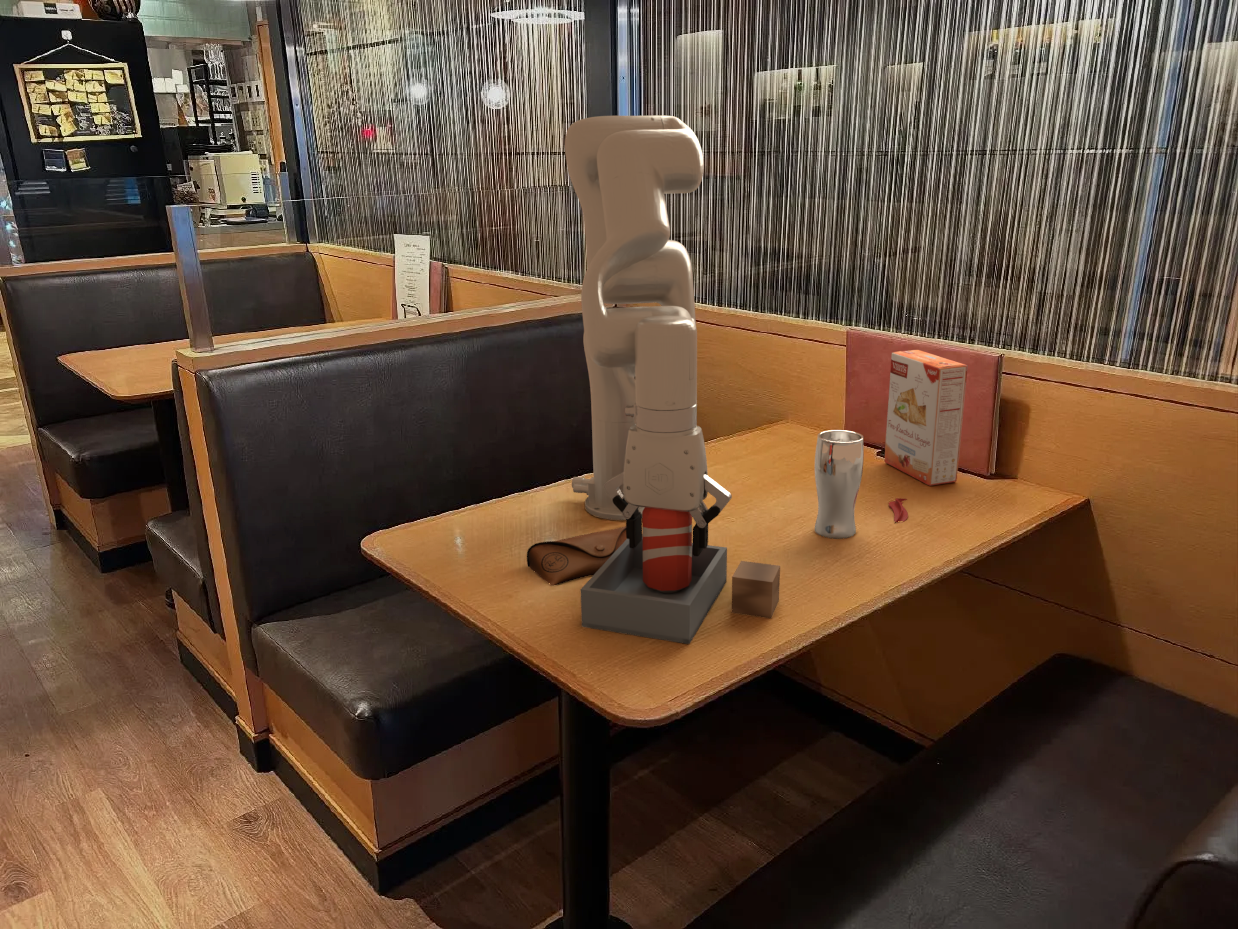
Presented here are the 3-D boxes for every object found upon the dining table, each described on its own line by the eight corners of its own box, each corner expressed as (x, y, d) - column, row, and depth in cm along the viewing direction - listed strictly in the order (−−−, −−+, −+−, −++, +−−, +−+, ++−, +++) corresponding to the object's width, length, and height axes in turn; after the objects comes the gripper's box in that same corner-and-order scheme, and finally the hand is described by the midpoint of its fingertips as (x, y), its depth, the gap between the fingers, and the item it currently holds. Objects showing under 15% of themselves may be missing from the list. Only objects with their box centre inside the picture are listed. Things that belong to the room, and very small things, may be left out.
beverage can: (679, 572, 125) (679, 488, 121) (698, 591, 119) (699, 504, 115) (637, 579, 123) (636, 494, 119) (654, 599, 117) (654, 510, 113)
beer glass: (859, 541, 135) (866, 443, 130) (811, 538, 136) (815, 441, 132) (857, 524, 141) (863, 430, 137) (811, 521, 143) (816, 428, 138)
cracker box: (881, 463, 169) (889, 351, 163) (910, 459, 171) (919, 348, 165) (927, 487, 157) (938, 366, 150) (957, 483, 158) (969, 363, 152)
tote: (581, 626, 112) (580, 589, 110) (630, 568, 128) (630, 535, 126) (689, 644, 107) (689, 605, 106) (726, 582, 123) (727, 547, 121)
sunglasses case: (550, 587, 122) (538, 539, 123) (533, 594, 128) (522, 548, 130) (666, 559, 130) (654, 514, 131) (646, 567, 136) (634, 524, 137)
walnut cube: (731, 613, 115) (732, 576, 113) (740, 596, 119) (741, 560, 118) (771, 619, 113) (772, 582, 112) (778, 601, 118) (780, 565, 116)
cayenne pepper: (895, 499, 153) (896, 488, 152) (923, 504, 150) (924, 493, 150) (871, 522, 143) (871, 511, 143) (900, 528, 141) (901, 516, 140)
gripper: (589, 420, 113) (593, 551, 119) (727, 431, 107) (725, 568, 113) (611, 405, 120) (614, 530, 125) (742, 415, 114) (739, 545, 120)
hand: (666, 547), depth 119 cm, fingers open, 8 cm apart
